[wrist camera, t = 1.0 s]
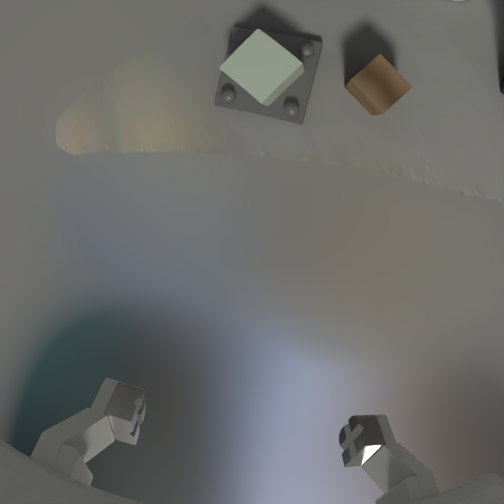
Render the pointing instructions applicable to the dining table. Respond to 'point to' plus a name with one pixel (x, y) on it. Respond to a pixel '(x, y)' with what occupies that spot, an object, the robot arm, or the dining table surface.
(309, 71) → the baseplate
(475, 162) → the dining table surface
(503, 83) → the juice carton
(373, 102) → the walnut brick
